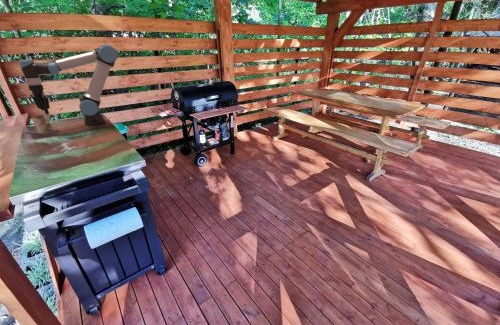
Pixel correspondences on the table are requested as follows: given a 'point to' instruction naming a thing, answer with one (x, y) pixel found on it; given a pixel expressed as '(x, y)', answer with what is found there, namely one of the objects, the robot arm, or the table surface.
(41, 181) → the table surface
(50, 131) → the mat
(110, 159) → the table surface
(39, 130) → the slab
